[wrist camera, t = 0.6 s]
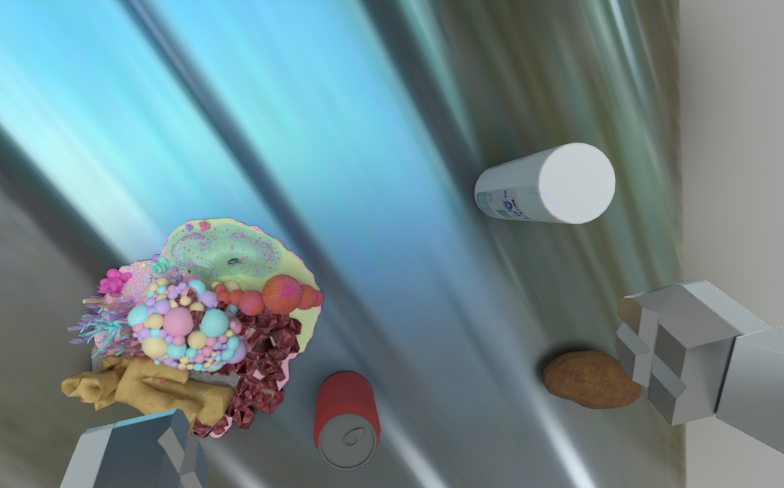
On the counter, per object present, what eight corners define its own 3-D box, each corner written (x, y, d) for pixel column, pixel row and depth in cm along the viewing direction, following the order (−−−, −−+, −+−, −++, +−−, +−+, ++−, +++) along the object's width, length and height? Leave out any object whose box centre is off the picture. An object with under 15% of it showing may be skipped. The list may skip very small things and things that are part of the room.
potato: (536, 340, 63) (561, 356, 56) (626, 345, 64) (661, 361, 57) (530, 395, 63) (554, 417, 56) (620, 399, 65) (654, 421, 58)
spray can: (535, 179, 62) (629, 163, 42) (511, 229, 62) (595, 237, 42) (486, 155, 61) (559, 127, 41) (463, 205, 61) (524, 203, 41)
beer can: (384, 401, 61) (396, 447, 49) (340, 436, 61) (341, 490, 49) (350, 358, 61) (354, 394, 49) (305, 393, 60) (297, 438, 48)
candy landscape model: (260, 458, 61) (247, 503, 51) (59, 388, 58) (7, 422, 48) (343, 261, 60) (345, 270, 51) (145, 180, 57) (109, 174, 48)
